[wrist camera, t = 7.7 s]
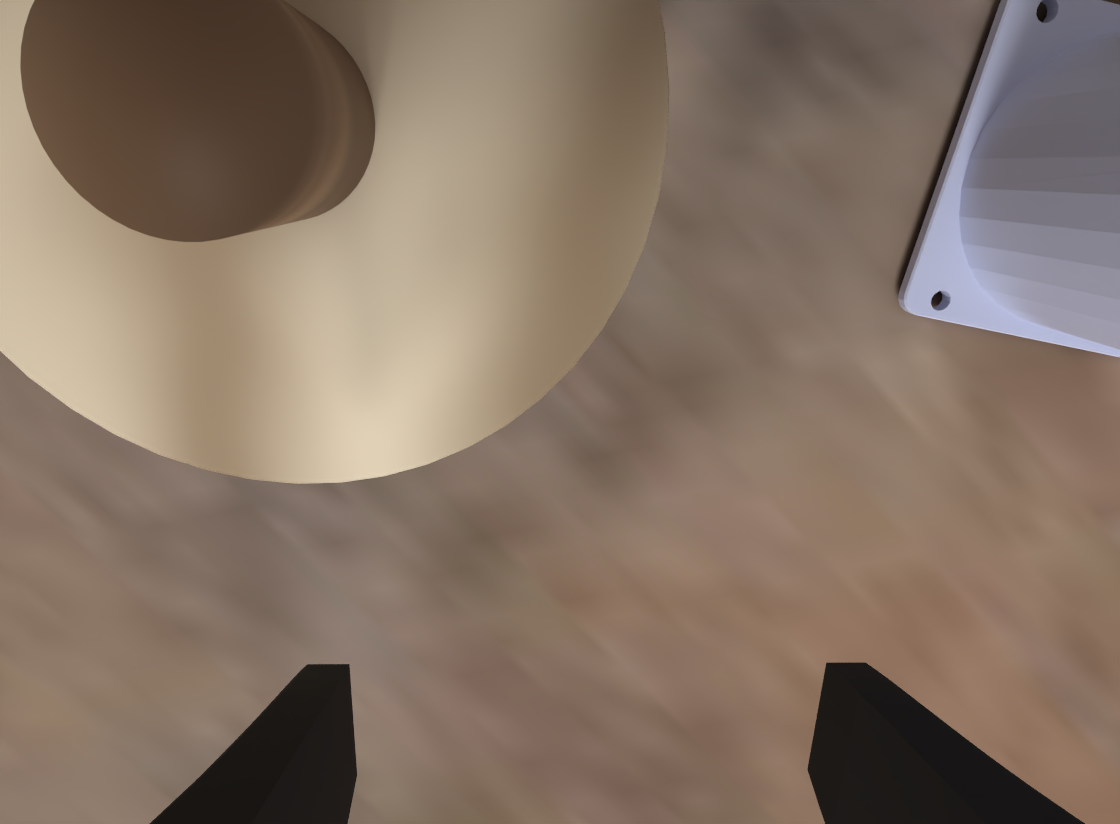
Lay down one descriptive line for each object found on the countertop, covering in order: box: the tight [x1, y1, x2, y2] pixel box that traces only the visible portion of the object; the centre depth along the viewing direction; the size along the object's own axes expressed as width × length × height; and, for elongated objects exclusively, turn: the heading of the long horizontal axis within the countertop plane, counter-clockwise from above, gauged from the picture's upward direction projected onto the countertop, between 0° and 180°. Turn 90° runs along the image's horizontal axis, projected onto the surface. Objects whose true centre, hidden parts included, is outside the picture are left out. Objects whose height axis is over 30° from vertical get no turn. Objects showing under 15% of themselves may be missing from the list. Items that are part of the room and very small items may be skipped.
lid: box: [0, 0, 669, 483], centre depth 11 cm, size 14×14×5 cm
